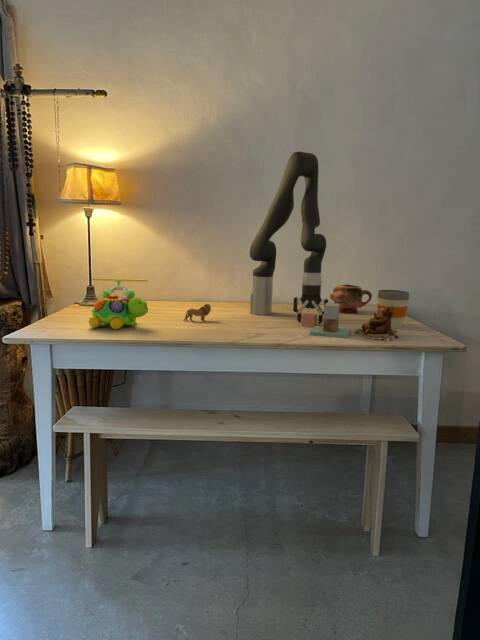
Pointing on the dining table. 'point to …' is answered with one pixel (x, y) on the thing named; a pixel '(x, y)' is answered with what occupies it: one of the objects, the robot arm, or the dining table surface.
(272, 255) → the robot arm
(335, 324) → the walnut brick
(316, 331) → the baseplate
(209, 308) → the lion figurine
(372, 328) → the bear figurine
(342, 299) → the brown ceramic mug
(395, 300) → the reusable coffee cup
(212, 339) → the dining table surface
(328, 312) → the slate brick
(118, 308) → the turtle toy
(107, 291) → the toy helicopter
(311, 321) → the red brick
